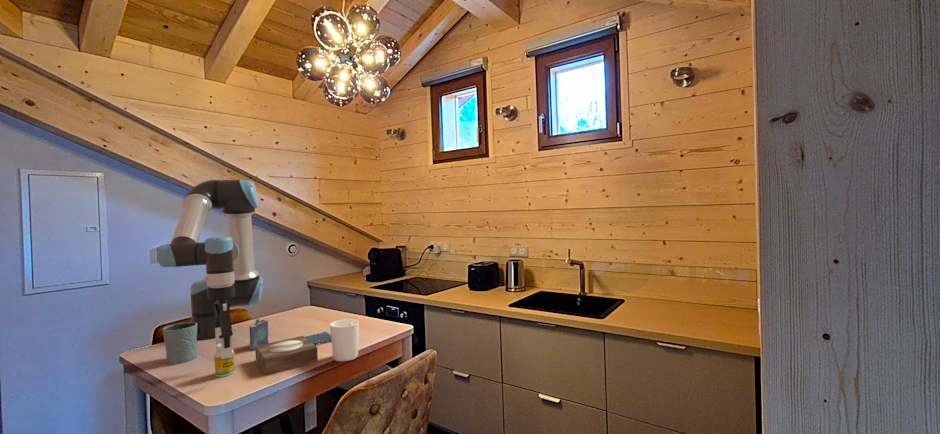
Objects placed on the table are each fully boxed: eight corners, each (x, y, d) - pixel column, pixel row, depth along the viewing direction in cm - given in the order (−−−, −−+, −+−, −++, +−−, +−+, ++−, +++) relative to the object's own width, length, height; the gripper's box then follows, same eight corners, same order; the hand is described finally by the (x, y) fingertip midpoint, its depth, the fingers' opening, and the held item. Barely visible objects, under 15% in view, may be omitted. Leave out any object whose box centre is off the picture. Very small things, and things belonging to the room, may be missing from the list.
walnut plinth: (255, 360, 143) (255, 345, 143) (303, 349, 153) (303, 335, 152) (266, 375, 130) (265, 358, 130) (317, 361, 140) (317, 346, 140)
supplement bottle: (227, 369, 135) (225, 340, 135) (238, 371, 133) (237, 342, 133) (211, 376, 130) (209, 346, 130) (223, 378, 128) (221, 348, 128)
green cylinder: (173, 367, 139) (171, 331, 138) (158, 361, 143) (156, 327, 143) (205, 356, 147) (203, 323, 147) (189, 352, 152) (188, 320, 152)
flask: (254, 350, 152) (253, 322, 152) (247, 350, 153) (246, 321, 152) (270, 342, 161) (269, 315, 161) (263, 342, 162) (262, 315, 161)
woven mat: (299, 342, 162) (299, 336, 162) (326, 335, 169) (325, 331, 169) (308, 349, 154) (308, 343, 154) (336, 342, 161) (335, 337, 161)
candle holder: (365, 352, 148) (364, 319, 147) (351, 363, 138) (350, 327, 138) (340, 351, 150) (339, 318, 149) (325, 361, 140) (323, 326, 140)
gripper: (202, 282, 138) (205, 345, 139) (211, 293, 119) (215, 366, 119) (228, 279, 143) (231, 340, 143) (241, 289, 123) (244, 359, 124)
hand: (223, 352), depth 131 cm, fingers open, 13 cm apart
